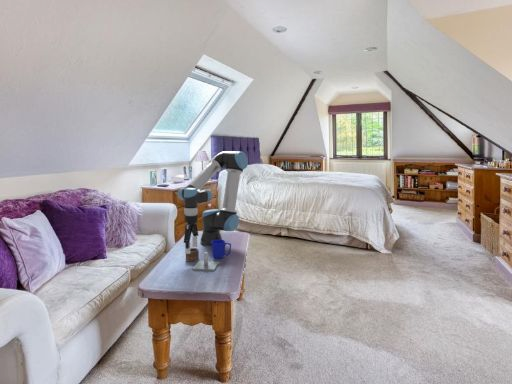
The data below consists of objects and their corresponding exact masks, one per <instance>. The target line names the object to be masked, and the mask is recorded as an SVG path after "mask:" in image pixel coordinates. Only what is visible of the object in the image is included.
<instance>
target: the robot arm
mask: <svg viewBox="0 0 512 384" xmlns="http://www.w3.org/2000/svg"><path fill="white" fill-rule="evenodd" d="M248 162H249V159H248V156H247V155H246V153H245V152H244V151H239V150H236V151H235V150H233V151H232V150H230V151H229V150H224V151H221V152H219V153H217V154H216V155H214V156H213V157H212V158H211V159H209V161H208V164H207V165H206V166H205V168H203V169H202V170H201V171H200V173H198V174H197V176H195V177H194V179H192V181H191V182H189V184H188V185H187V186H186V187H181V188H179V190H178V191H177V197H178V199H180V200H182V201H183V202H184V205H183V206H184V208H183V211H184V216H183V217H184V222H185V223H187V224H186V225H185V229H184V230H185V231H184V236H183V243H184V245H185V246H184V247H185V248H184V249H185V251H184V252H185V253H184V254H185V255H186V254H190V248H191V242H192V248H197V247H198V237H199V236H200V235H199V230H198V224H197V222H198V220H199V218H198V213H199V212H198V204H201V203H208V202H210V201H212V199H213V193H212V191H211V190H210V189H203V188H204V186H205V185H206V184H207V183H208V182H209V181H210V180H211V179H212V178H213V177H214V175H215V174H216V173H217V172H220V171H221V170H223V169H225V171H226V172H227V175H226V181H225V188H224V195H223V202H222V207H221V208H220V209H217V208H213V209H207V210H204V211H203V212H202V217H201V218H202V234H201V237H200V244H201V245H203V246H209V247H210V246H211V247H212V244H211V241H213V240H223V237H222V234H221V232H220V231H223V232H224V231H225V232H234V231H236V229H237V228H238V227H239V224H240V218H239V216H238V212H237V209H236V204H237V201H238V200H237V199H238V192H239V185H240V178H241V175H242V173H244V170H245V169H247V167H248V165H249V163H248ZM191 238H192V241H191Z"/></svg>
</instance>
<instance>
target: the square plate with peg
mask: <svg viewBox="0 0 512 384" xmlns="http://www.w3.org/2000/svg"><path fill="white" fill-rule="evenodd" d="M219 264H220V261H215V260H213V261H209V252H207V251H205V252H203V260H198V261H196V263H195V265H194V266H193V267H192V271H197V272H198V271H201V272H215V270H216V269H217V267H218V266H219Z"/></svg>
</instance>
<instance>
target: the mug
mask: <svg viewBox="0 0 512 384" xmlns="http://www.w3.org/2000/svg"><path fill="white" fill-rule="evenodd" d="M211 244H212V245H211V252H212V257H213V258H214V259H218V260H219V259H223V258H224V257H225V256H229V255H230V254H231V249H232V243H230V242H226V241H225V240H224V239H222V240H213V241H211ZM226 245H229V251H228V253H226Z"/></svg>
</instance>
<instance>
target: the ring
mask: <svg viewBox="0 0 512 384" xmlns="http://www.w3.org/2000/svg"><path fill="white" fill-rule="evenodd" d="M199 256H200V255H199V249H198V248H197V247H190V254H185V261H186V262H187V263H188V262H189V263H195V262H198V261H200V260H199V259H200V257H199Z"/></svg>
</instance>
